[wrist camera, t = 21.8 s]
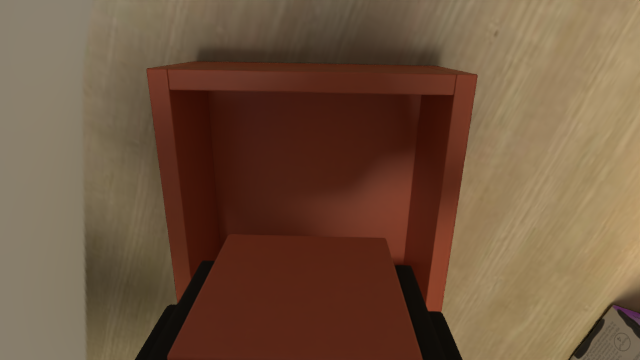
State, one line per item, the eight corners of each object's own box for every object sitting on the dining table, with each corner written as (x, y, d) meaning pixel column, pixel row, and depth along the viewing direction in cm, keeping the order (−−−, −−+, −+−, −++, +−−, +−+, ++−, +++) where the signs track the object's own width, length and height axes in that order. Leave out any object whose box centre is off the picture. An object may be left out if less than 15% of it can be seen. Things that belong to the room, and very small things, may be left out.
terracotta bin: (213, 268, 24) (181, 334, 19) (194, 61, 20) (145, 68, 14) (411, 272, 24) (437, 340, 19) (436, 65, 20) (478, 74, 14)
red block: (236, 356, 12) (190, 520, 8) (228, 233, 11) (165, 355, 7) (375, 359, 12) (401, 527, 8) (386, 236, 11) (425, 363, 7)
